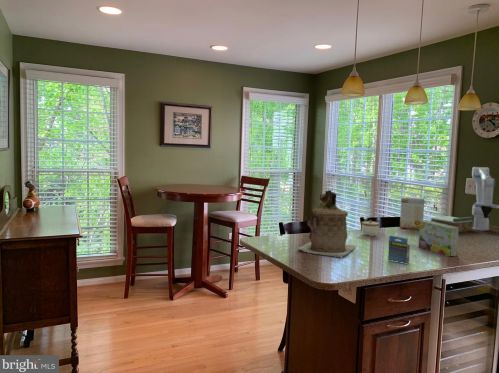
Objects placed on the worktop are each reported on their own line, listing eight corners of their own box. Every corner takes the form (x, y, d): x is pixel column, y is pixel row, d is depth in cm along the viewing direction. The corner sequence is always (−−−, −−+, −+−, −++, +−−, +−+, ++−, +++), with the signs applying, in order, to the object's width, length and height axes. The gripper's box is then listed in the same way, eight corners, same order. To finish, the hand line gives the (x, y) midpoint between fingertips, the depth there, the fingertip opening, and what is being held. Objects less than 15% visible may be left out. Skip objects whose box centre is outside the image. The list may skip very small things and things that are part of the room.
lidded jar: (380, 237, 240) (381, 222, 239) (362, 236, 241) (362, 221, 240) (377, 233, 250) (378, 219, 249) (359, 232, 252) (360, 218, 251)
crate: (447, 225, 282) (447, 217, 282) (471, 230, 267) (472, 221, 266) (430, 227, 274) (431, 219, 273) (455, 232, 258) (455, 223, 258)
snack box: (417, 247, 216) (419, 220, 215) (425, 246, 218) (427, 219, 217) (449, 257, 197) (451, 227, 195) (457, 256, 199) (459, 227, 197)
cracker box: (422, 229, 269) (424, 198, 267) (421, 230, 264) (423, 199, 262) (401, 226, 276) (403, 196, 274) (399, 227, 271) (401, 197, 269)
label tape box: (409, 263, 185) (410, 237, 184) (406, 264, 182) (407, 238, 181) (390, 259, 191) (392, 234, 190) (387, 261, 188) (388, 235, 186)
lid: (447, 217, 282) (448, 213, 282) (472, 221, 266) (472, 217, 266) (431, 218, 273) (431, 214, 273) (455, 223, 257) (456, 219, 257)
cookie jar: (356, 249, 210) (359, 189, 207) (342, 259, 189) (345, 193, 186) (313, 242, 222) (315, 186, 219) (295, 251, 201) (297, 189, 198)
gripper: (472, 196, 259) (471, 216, 260) (495, 198, 247) (493, 220, 248) (479, 195, 263) (477, 216, 264) (501, 198, 250) (500, 219, 251)
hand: (486, 217), depth 256 cm, fingers closed
